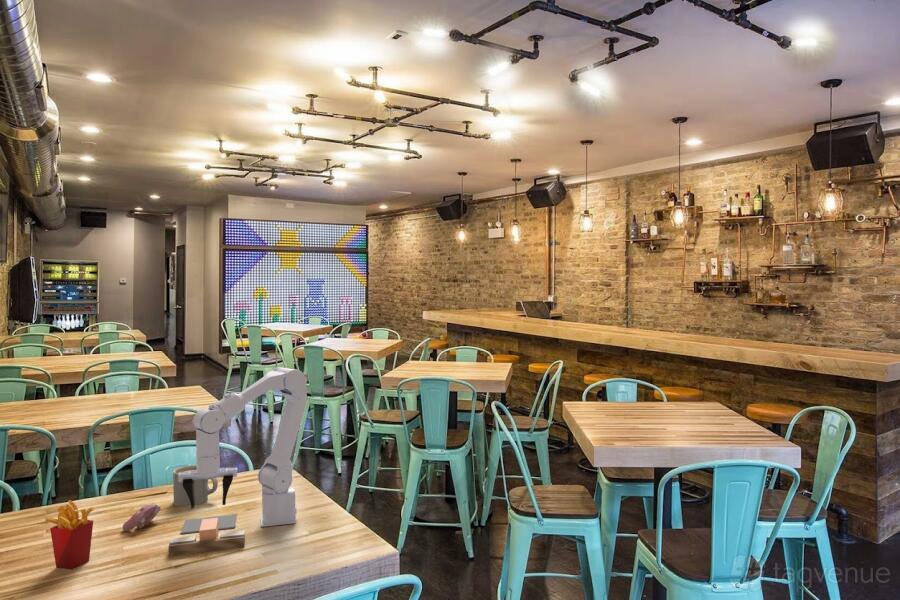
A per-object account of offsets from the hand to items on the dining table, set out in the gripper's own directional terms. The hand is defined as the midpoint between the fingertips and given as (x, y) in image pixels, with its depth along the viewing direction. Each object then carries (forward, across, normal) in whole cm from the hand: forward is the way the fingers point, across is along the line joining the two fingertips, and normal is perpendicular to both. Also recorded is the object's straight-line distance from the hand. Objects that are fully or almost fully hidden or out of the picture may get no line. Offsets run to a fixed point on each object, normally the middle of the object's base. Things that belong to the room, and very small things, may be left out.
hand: (208, 505), depth 161 cm
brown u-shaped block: (+9, 0, +4) cm, 10 cm away
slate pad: (+9, +1, -12) cm, 15 cm away
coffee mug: (+10, +7, -34) cm, 36 cm away
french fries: (+10, +32, +5) cm, 34 cm away
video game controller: (+10, +19, -17) cm, 27 cm away
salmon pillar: (+10, 0, +1) cm, 10 cm away
